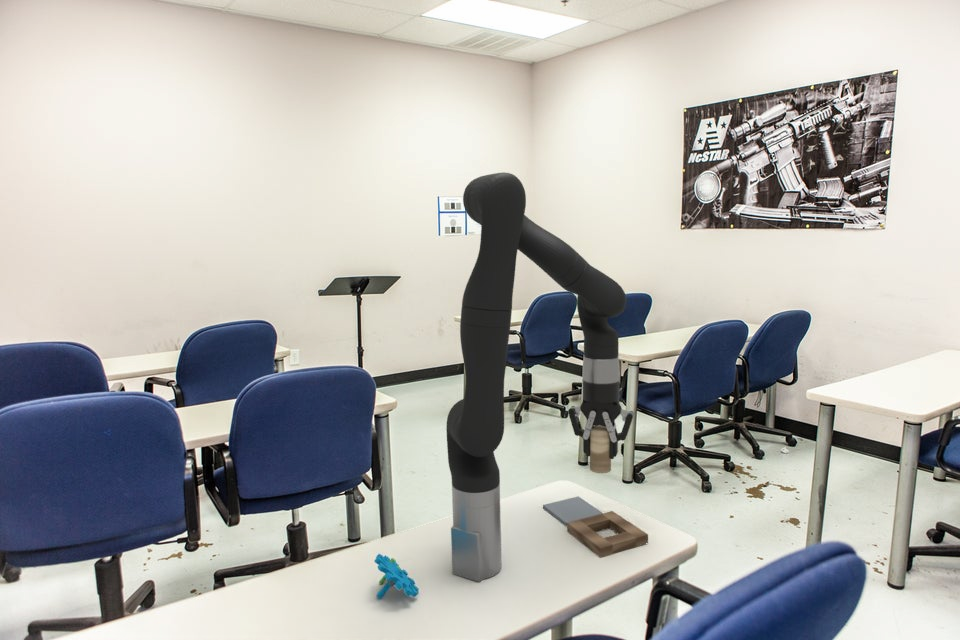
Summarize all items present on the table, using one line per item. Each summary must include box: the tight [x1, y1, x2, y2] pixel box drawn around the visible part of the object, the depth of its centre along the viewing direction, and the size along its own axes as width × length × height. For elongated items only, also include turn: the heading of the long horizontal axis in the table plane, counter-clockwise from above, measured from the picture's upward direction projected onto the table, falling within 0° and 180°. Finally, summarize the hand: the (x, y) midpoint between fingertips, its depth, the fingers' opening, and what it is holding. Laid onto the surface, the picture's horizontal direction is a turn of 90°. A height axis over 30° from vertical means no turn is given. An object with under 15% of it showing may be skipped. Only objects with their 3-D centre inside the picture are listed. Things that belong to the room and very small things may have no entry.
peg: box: [589, 425, 612, 474], centre depth 127 cm, size 4×4×9 cm
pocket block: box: [566, 510, 649, 558], centre depth 127 cm, size 12×12×2 cm
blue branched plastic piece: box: [374, 553, 420, 600], centre depth 109 cm, size 11×6×10 cm
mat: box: [542, 495, 604, 527], centre depth 139 cm, size 10×10×1 cm
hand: (600, 456), depth 127 cm, fingers closed on peg, 4 cm apart
